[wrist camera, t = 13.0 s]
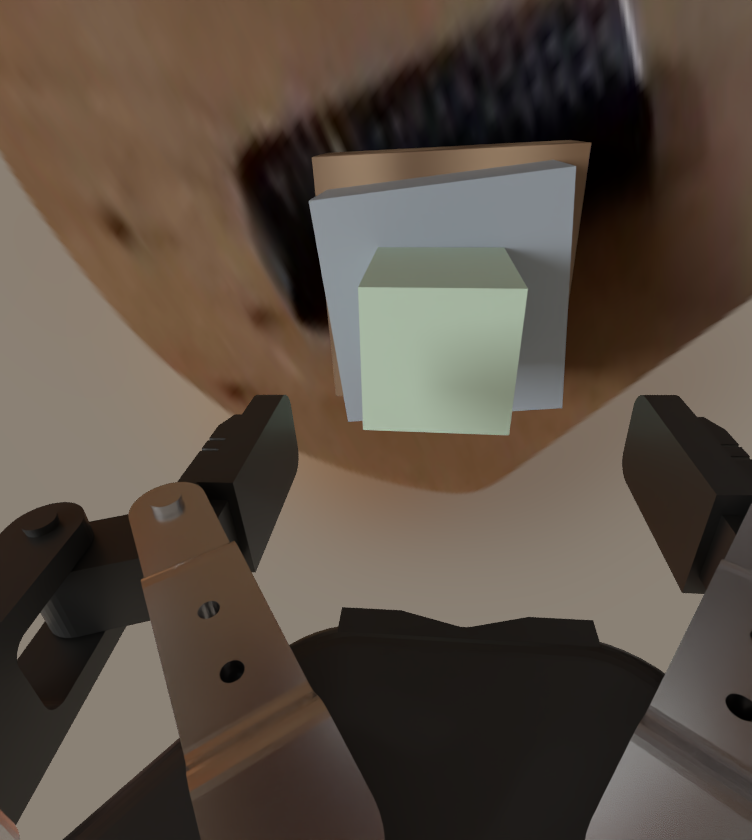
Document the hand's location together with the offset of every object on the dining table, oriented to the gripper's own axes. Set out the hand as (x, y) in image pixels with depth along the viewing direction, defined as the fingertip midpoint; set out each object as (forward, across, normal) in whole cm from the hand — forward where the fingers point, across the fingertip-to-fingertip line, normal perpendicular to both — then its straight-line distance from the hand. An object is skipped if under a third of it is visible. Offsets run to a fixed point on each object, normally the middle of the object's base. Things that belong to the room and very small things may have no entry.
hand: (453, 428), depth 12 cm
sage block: (+11, 0, 0) cm, 11 cm away
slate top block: (+15, 0, +1) cm, 15 cm away
